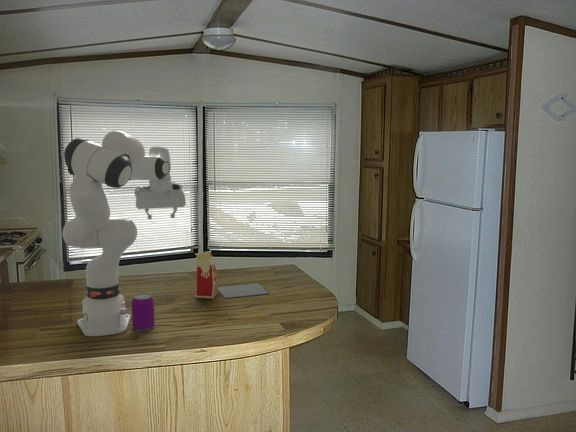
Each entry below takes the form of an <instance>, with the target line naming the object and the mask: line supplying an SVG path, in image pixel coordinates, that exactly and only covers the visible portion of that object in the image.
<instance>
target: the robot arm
mask: <svg viewBox="0 0 576 432" xmlns="http://www.w3.org/2000/svg"><path fill="white" fill-rule="evenodd" d="M148 150H149V153H148V155H146V150H145V147H144V145H143V144H142V142H141V141H140V140H139V139H138V138H136V137H134V136H133V135H131V134H129V133H128V132H125V131H120V130H112V131H109V132H108V133H106V134H105V135H104V137H103V139H102V143H101V144H99V143H96V142H93V141H91V140H89V139H87V138H82V137H81V138H80V137H76V138H74V139H72V140H71V141H70V142H69V143H68V144H67V145H66V147H65V149H64V153H63V156H64V157H63V158H64V163H65V165H66V167H67V172H68V174H69V175H70V176H74V180H72V182H71V183H70V186H69V198H70V204H71V207H72V209H73V211H74V215H75V217H73V218H72V219H70V220H68V221H67V222H66V223H65V225H64V226H63V229H62V239H63V241H64V243H65V244H66V245H67V246H68V247H73V248H78V249H102V253H101V254H100V255H97V256H96V257H93V258H92V259H90V260H89V261H88V263H87V264H86V267H85V271H86V285H85V298H84V299H82V301H81V306H82V308H81V310H82V314H81V317H82V318H80V319H77V321H76V322H77V323H76V325H78V327H79V328H80V330H81V332H82V333H83V335H84V336H85V337H101V336H102V337H103V336H110V335H111V336H112V335H116V334H117V335H118V334H120V333H123V332H126V331H127V330H128V327H129V324H130V321H131V318H132V316H131V314H128V313H127V308H126V305H127V304H126V302H125V296H124V295H122V293H121V284H120V282H119V266H120V265H119V264H120V260H121V258H122V256H123V254H124V252H126V250H127V249H128V248H129V247H131V246H132V245H133V244H134V243H135V241H136V239H137V237H138V228H137V225H136V223H135V222H134V221H133V220H132V219H128V218H123V217H111V209H110V205H109V202H108V199H107V196H106V193H105V190H104V189H103V184H104V185H106V187H110V188H114V189H119V188H122V187H123V186H125V185H126V184H127V183H128V182H129V181H134V180H135V181H137V180H139V181H148V184H149V185H144V186H140V185H139V186H138V187H136V188H135V189H134V196H135V207H136V209H138V210H144V211H145V212H144V213H146V215H147V220H153V217H152V214H150V213H149V209H151V210H152V209H169V208H170V209H171V208H172V210H173V211H172V212H171V213H170V218H171V219H175V218H176V216H175V214H176V213H177V211H178V208H185V206H186V205H187V204H186V203H187V202H186V195H185V192H184V191H183V190H182V189H183V185H182V184H181V183H178V182H175V181H172V176H171V164H172V163H171V157H170V150H169V149H168V148H167V147H165V146H157V145H156V146H151V147H149V149H148Z"/></svg>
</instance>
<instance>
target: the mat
mask: <svg viewBox="0 0 576 432" xmlns="http://www.w3.org/2000/svg"><path fill="white" fill-rule="evenodd" d="M218 291H219V292H218V293H219V294H220V295H221V296H222V298H224V299H234V298H235V299H236V298H245V297H255V296H262V295H264V296H265V295H270V293H269V291H268V290H266V289H265V288H264V287H263V286H262V285H261V284H259V282H257V283H248V284H247V283H246V284H237V285H226V286H218Z"/></svg>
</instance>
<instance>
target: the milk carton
mask: <svg viewBox="0 0 576 432" xmlns="http://www.w3.org/2000/svg"><path fill="white" fill-rule="evenodd" d="M194 255H196V275H195V277H196V280H195V282H196V283H195V298H196V299H197V298H199V299H201V298H202V299H204V298H205V299H214V298H215V297H216V296H217V295H218V294H219V293H220V292H219V291H218V287H219V281H218V274H217V269H216V268H217V267H216V264H215V260H214V257H213V254H212V250H208V251H204V252H197V253H194Z"/></svg>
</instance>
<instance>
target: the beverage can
mask: <svg viewBox="0 0 576 432" xmlns="http://www.w3.org/2000/svg"><path fill="white" fill-rule="evenodd" d="M131 315H132V316H131V318H132V319H131V320H132V322H131V323H132V328H133V329H134V330H135V331H139V332H145V331H149V330H152V329H153V328H154V327H155V301H154V298H153V296H152V294H151V293H147V292H145V293H142V292H141V293H137V294H134V295H133V299H132V301H131Z"/></svg>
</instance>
